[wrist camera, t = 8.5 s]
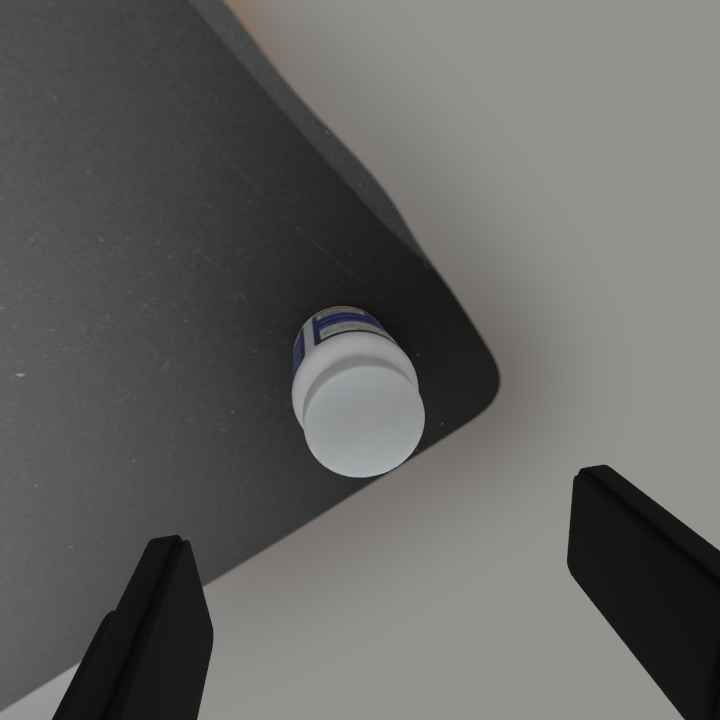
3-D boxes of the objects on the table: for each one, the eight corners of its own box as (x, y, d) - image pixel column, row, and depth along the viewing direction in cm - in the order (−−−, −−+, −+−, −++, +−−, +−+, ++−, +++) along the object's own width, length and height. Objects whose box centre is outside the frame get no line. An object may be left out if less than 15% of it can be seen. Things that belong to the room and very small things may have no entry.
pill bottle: (346, 411, 26) (370, 515, 17) (273, 357, 25) (255, 438, 15) (407, 344, 25) (468, 413, 16) (336, 283, 24) (357, 320, 14)
